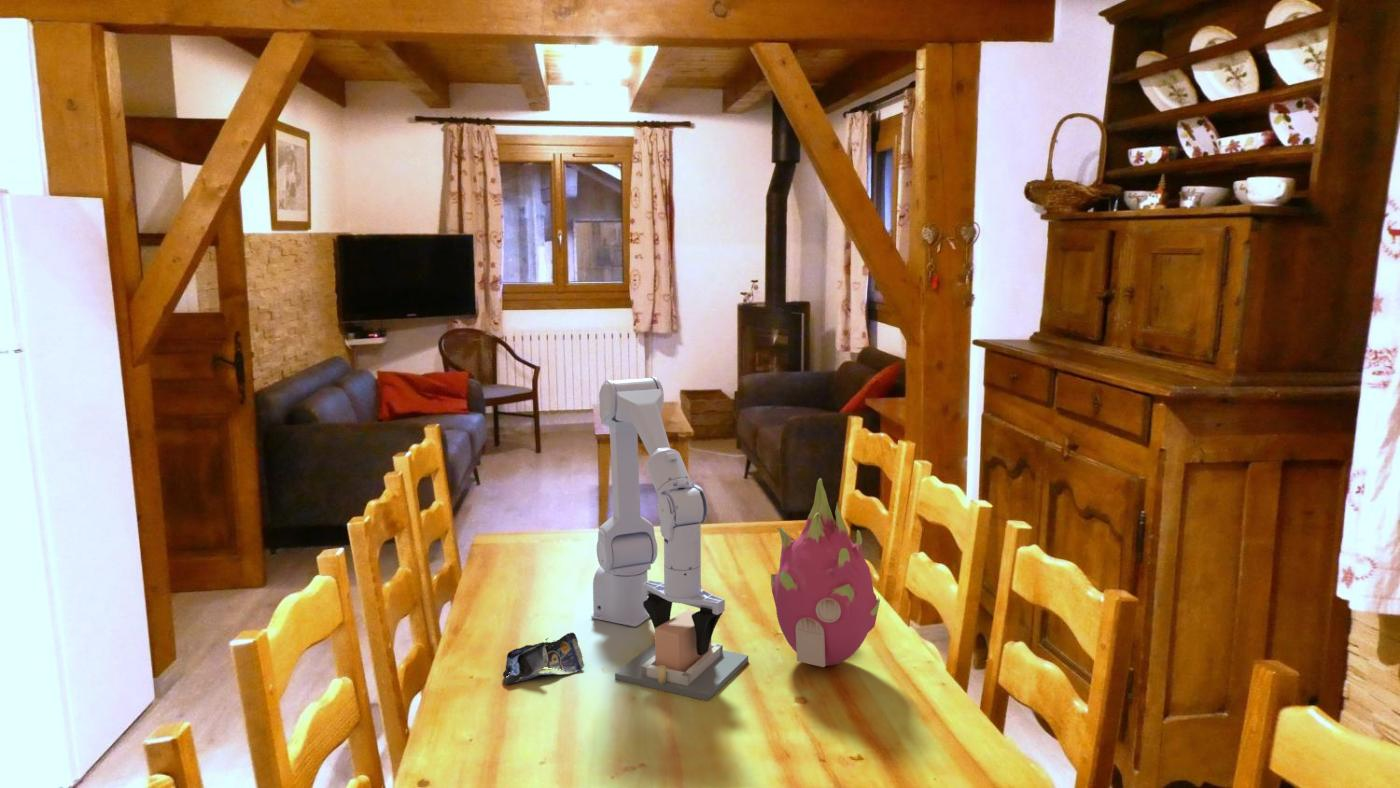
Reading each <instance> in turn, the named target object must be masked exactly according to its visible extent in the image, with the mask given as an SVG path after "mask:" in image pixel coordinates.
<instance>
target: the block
mask: <svg viewBox="0 0 1400 788" xmlns="http://www.w3.org/2000/svg"><path fill="white" fill-rule="evenodd" d="M696 612H697V611H695V610H691V609H687V610H685V611H682V612H681V613H679V614H678V615H675V616H674V617H672V618H670V620H669V621H667V622H665V623H663V624H662V625H660V626H658V627H656V628H655V629H654V643H655V666H659V665H665V666H666V668H667V669H672V670H676V671H681V672H686V671H687V670H688V669H689V668H690V667H691V666H692V665H694V664H695V663H696V662H697V661H698V660H699V659H700V658H702V657H703V656H704V655H705V654H706V653H707V652H706V653H704V654H703V655H698V654H697V649H696V631H695V626H694V622H693V619H692V614H694V613H696ZM711 643H712V639H711V640H710V644H709V649H708V651H710V650H711Z"/></svg>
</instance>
